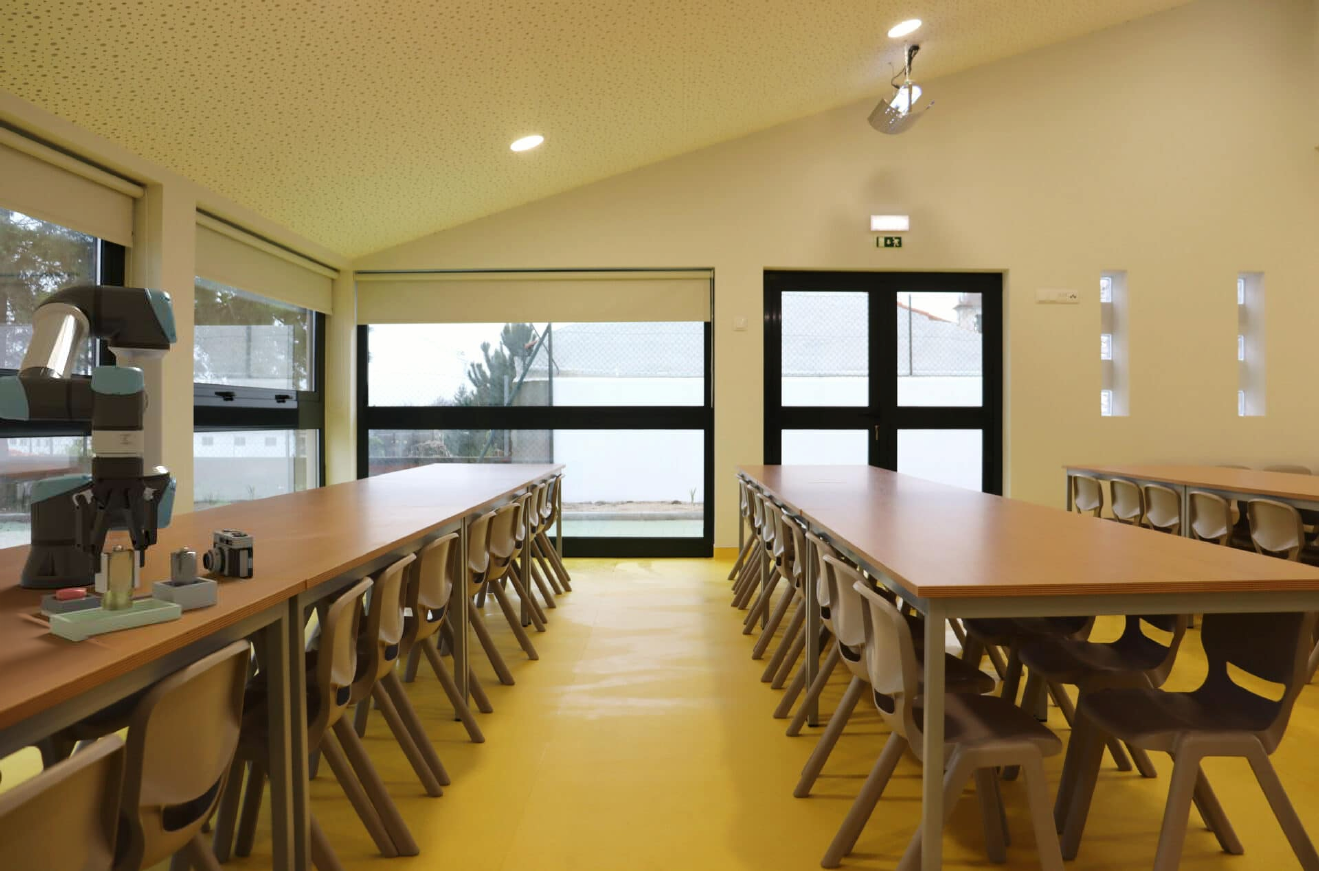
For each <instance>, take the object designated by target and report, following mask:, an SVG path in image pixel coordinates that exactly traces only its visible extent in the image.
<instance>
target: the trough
mask: <svg viewBox="0 0 1319 871" xmlns="http://www.w3.org/2000/svg"><path fill="white" fill-rule="evenodd" d="M178 619H182V611H181V605H178V604H174V603H170V602H167V601H163V600H160V599H156V598H153V599H152V598H146V599H140V600H134V601H133V607H132V608H129V609H125V610H118V611H104V610H102V606H101V607H99V608H93V609H87V610H81V611H75V612H69V613H63V614H57V615H51V616H50V617H49V633H51V634H54V635H56V636H59V637H61V638H65V639H67V640H69V641H73V642H79V641H85V640H89V639H93V637H92V636H94V635H98V634H104V633H108V632H109V633H110V632H115V631H120V630H124V629H130V628H135V627H141V626H145V625H151V624H156V623H162V622H167V621H173V620H178Z"/></svg>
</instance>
